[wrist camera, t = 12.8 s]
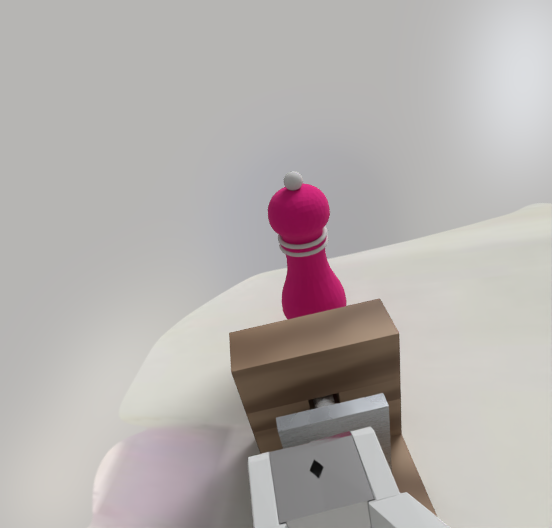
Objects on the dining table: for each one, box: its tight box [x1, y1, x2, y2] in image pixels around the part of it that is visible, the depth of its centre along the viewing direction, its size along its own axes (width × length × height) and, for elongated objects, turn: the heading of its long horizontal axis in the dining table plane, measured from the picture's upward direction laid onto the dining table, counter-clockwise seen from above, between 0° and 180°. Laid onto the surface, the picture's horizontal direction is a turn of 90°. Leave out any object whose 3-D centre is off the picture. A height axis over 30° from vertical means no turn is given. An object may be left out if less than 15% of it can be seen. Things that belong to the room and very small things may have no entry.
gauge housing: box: [229, 299, 437, 516], centre depth 30 cm, size 15×12×13 cm
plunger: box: [276, 393, 392, 473], centre depth 33 cm, size 12×10×10 cm
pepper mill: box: [268, 172, 346, 319], centre depth 44 cm, size 7×7×20 cm
